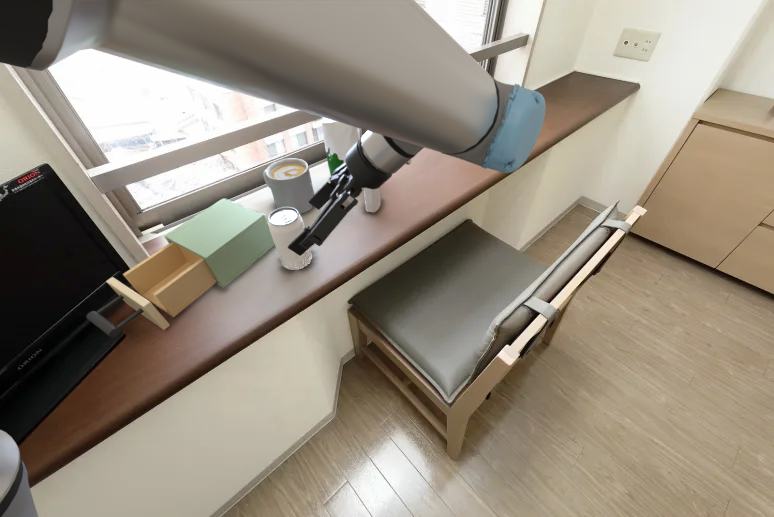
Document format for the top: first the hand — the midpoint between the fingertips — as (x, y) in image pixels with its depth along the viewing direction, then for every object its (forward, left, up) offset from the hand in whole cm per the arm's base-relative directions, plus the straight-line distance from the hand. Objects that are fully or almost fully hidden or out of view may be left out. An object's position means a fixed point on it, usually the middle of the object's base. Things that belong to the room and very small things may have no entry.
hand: (304, 226), depth 65 cm
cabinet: (-8, +17, -10) cm, 21 cm away
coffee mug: (+14, +19, -10) cm, 26 cm away
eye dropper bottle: (+22, -1, -10) cm, 24 cm away
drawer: (-23, +17, -9) cm, 30 cm away
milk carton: (+29, +12, -10) cm, 33 cm away
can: (-2, +3, -10) cm, 10 cm away
